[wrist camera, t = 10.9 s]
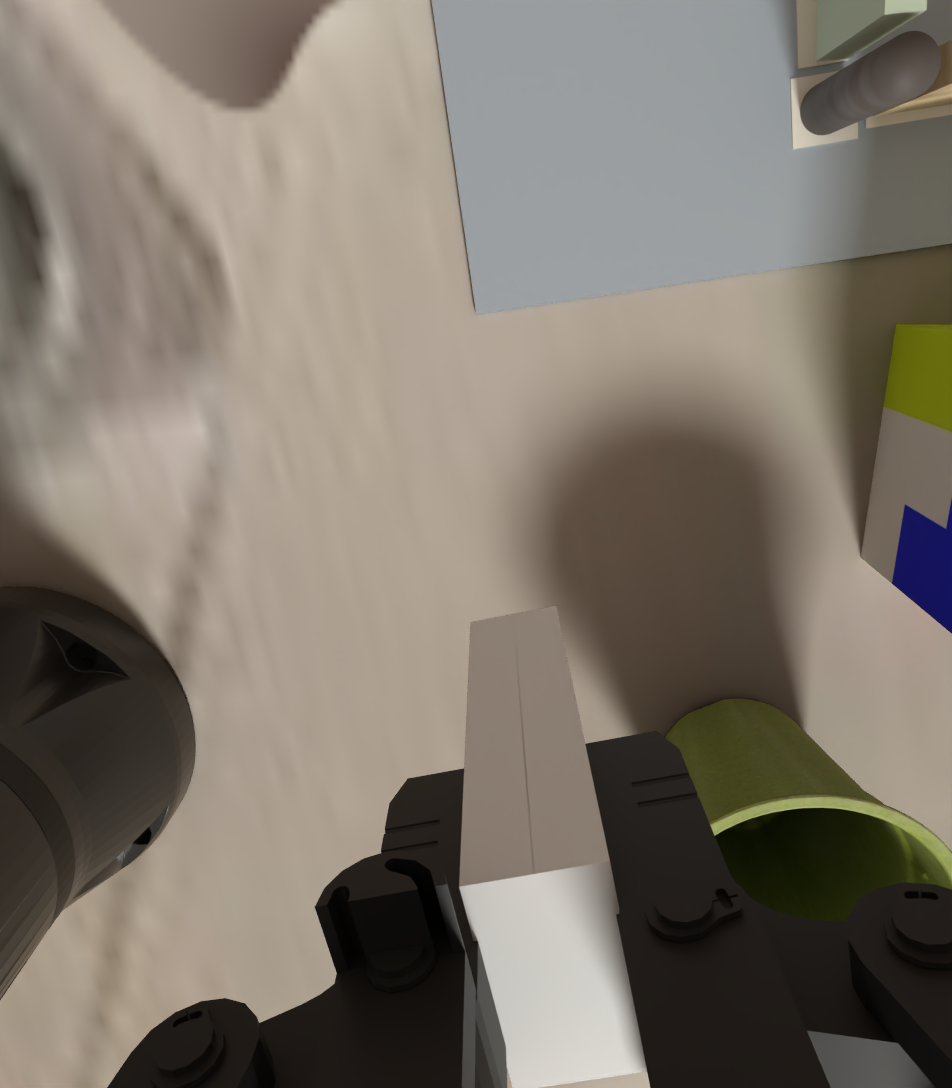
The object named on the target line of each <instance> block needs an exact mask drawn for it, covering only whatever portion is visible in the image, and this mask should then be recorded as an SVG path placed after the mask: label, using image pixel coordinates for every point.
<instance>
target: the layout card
mask: <svg viewBox="0 0 952 1088" xmlns="http://www.w3.org/2000/svg"><path fill="white" fill-rule="evenodd" d="M431 1H432V8H433V15H434V22H435V29H436V36H437V43H438V50H439V57H440V64H441V71H442V78H443V85H444V92H445V99H446V106H447V113H448V120H449V127H450V134H451V141H452V148H453V155H454V162H455V169H456V176H457V183H458V190H459V197H460V204H461V211H462V219H463V226H464V233H465V240H466V247H467V254H468V261H469V268H470V275H471V282H472V289H473V296H474V303H475V310H476V315H480V314H487V313H493V312H500V311H507V310H513V309H520V308H527V307H533V306H540V305H546V304H553V303H560V302H566V301H573V300H580V299H586V298H593V297H600V296H606V295H613V294H620V293H626V292H633V291H640V290H646V289H653V288H659V287H666V286H673V285H679V284H686V283H693V282H699V281H706V280H713V279H719V278H726V277H733V276H739V275H746V274H753V273H759V272H766V271H772V270H779V269H786V268H792V267H799V266H806V265H812V264H819V263H826V262H832V261H839V260H846V259H852V258H859V257H866V256H872V255H879V254H885V253H892V252H899V251H905V250H912V249H919V248H925V247H932V246H939V245H945V244H952V104H948V105H942V106H936V107H930V108H924V109H918V110H912V111H906V112H900V113H893V114H887V115H881V116H875V117H873V116H871V117H868V118H866V119H864V120H861V121H859V122H857V123H854V124H852V125H850V126H847V127H845V128H843V129H840V130H838V131H836V132H833V133H831V134H828V135H815V134H813V133H811V132H809V131H808V130H807V129H806V128H805V127H804V125H803V123H802V121H801V117H800V108H801V103H802V101H803V98H804V97H805V95H806V94H807V92H808V91H809V90H810V89H811V88H813V87H814V86H815V85H817V84H819V83H820V82H822V81H824V80H825V79H827V78H829V77H830V76H832V75H834V74H835V73H837V72H838V71H840V70H842V69H843V68H845V67H847V66H848V65H850V64H852V63H853V62H855V61H857V60H858V59H860V58H862V57H863V56H865V55H866V54H868V53H870V52H871V51H873V50H875V49H876V48H878V47H880V46H881V45H883V44H885V43H886V42H888V41H890V40H891V39H893V38H894V37H896V36H898V35H900V34H902V33H904V32H908V31H921V32H924V33H926V34H928V35H929V36H931V37H932V38H933V39H934V40H935V42H936V43H937V45H938V46H940V45H942V44H944V43H946V42H947V41H949V40H951V39H952V0H927V10H926V11H924V12H923V13H921V14H919V15H918V16H916V17H915V18H913V19H911V20H910V21H908V22H907V23H905V24H904V25H902V26H900V27H899V28H897V29H896V30H894V31H892V32H891V33H889V34H888V35H886V36H884V37H883V38H881V39H880V40H878V41H876V42H875V43H873V44H872V45H870V46H868V47H867V48H865V49H864V50H862V51H860V52H859V53H857V54H856V55H854V56H852V57H851V58H848V59H837V60H827V61H817V62H816V39H817V12H818V0H431Z"/></svg>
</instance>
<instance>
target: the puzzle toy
mask: <svg viewBox="0 0 952 1088" xmlns="http://www.w3.org/2000/svg"><path fill="white" fill-rule="evenodd" d="M861 558H862V559H863V560H864V561H866V562H867V563H868V564H869V565H870V566H872V567H873V568H874V569H875V570H876V571H878V572H879V573H880V574H881V575H882V576H884V577H885V578H886V579H887V580H888V581H890V582H891V583H892V584H893V585H894V586H896V587H897V588H898V589H899V590H900V591H902V592H903V593H904V594H905V595H906V596H908V597H909V598H910V599H911V600H912V601H914V602H915V603H916V604H917V605H918V606H920V607H921V608H922V609H923V610H924V611H925V612H927V613H928V614H929V615H930V616H931V617H933V618H934V619H935V620H936V621H937V622H939V623H940V624H941V625H942V626H943V627H945V628H946V629H947V630H948V631H949V632H951V633H952V324H896V327H895V334H894V340H893V347H892V354H891V360H890V367H889V374H888V380H887V387H886V393H885V400H884V407H883V413H882V420H881V427H880V433H879V440H878V446H877V453H876V460H875V466H874V473H873V480H872V486H871V493H870V500H869V506H868V513H867V519H866V526H865V533H864V539H863V546H862V553H861Z"/></svg>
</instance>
